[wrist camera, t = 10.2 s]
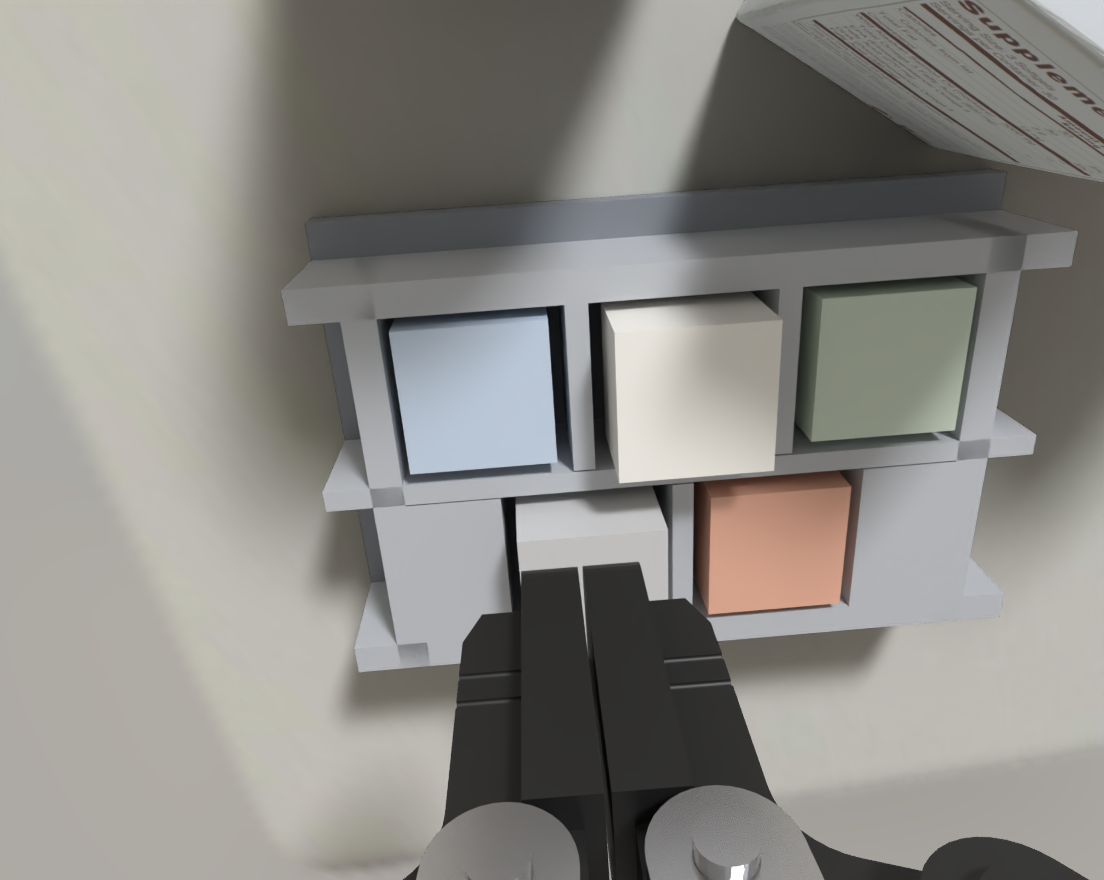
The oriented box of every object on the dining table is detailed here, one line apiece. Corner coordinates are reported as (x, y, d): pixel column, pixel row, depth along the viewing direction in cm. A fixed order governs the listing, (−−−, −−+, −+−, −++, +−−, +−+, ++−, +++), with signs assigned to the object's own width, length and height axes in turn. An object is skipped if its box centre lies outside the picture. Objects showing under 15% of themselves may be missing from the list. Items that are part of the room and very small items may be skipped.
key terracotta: (814, 442, 26) (851, 486, 23) (805, 550, 27) (839, 603, 25) (688, 452, 25) (710, 498, 23) (687, 560, 27) (708, 614, 24)
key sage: (922, 262, 23) (977, 287, 21) (905, 391, 25) (954, 430, 22) (785, 272, 23) (822, 299, 21) (777, 401, 25) (811, 441, 22)
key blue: (542, 291, 23) (547, 320, 20) (551, 419, 25) (557, 462, 22) (402, 301, 23) (388, 332, 20) (420, 430, 25) (410, 474, 22)
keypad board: (991, 169, 24) (1087, 187, 20) (929, 568, 30) (993, 643, 26) (310, 218, 23) (272, 247, 19) (382, 614, 29) (364, 698, 25)
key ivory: (748, 289, 22) (782, 319, 19) (742, 424, 24) (774, 470, 21) (600, 300, 22) (614, 332, 19) (605, 435, 23) (619, 483, 21)
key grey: (649, 478, 24) (667, 529, 21) (650, 589, 26) (668, 651, 23) (515, 489, 24) (516, 542, 21) (525, 600, 26) (527, 663, 23)
